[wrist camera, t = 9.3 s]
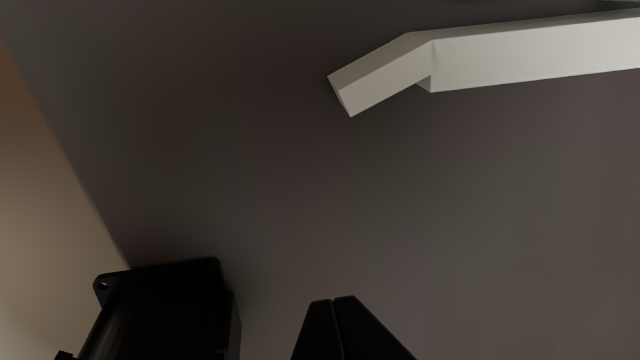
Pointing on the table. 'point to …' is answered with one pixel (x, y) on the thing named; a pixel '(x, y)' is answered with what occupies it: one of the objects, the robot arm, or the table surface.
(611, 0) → the bar
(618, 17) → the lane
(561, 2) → the table surface
